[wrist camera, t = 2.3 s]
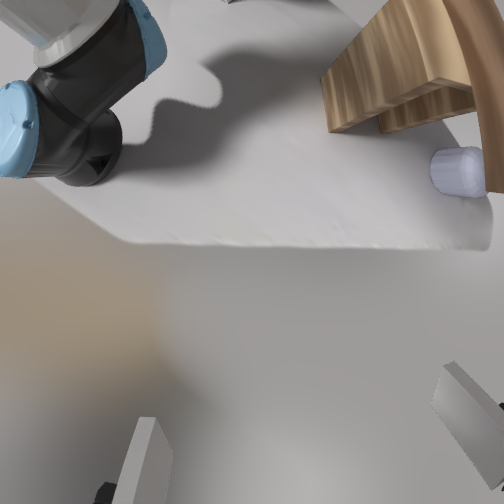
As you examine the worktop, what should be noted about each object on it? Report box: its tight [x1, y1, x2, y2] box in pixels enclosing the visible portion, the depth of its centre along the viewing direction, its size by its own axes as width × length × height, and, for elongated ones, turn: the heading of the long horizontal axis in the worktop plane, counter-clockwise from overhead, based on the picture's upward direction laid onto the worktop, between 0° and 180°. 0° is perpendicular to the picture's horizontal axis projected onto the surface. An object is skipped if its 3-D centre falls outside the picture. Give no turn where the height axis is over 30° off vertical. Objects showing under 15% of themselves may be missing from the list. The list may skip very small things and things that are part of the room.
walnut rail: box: [442, 0, 504, 193], centre depth 13 cm, size 4×26×4 cm, turn 6°
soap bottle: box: [430, 147, 488, 198], centre depth 35 cm, size 9×9×25 cm
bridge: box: [321, 0, 477, 134], centre depth 29 cm, size 12×10×30 cm
